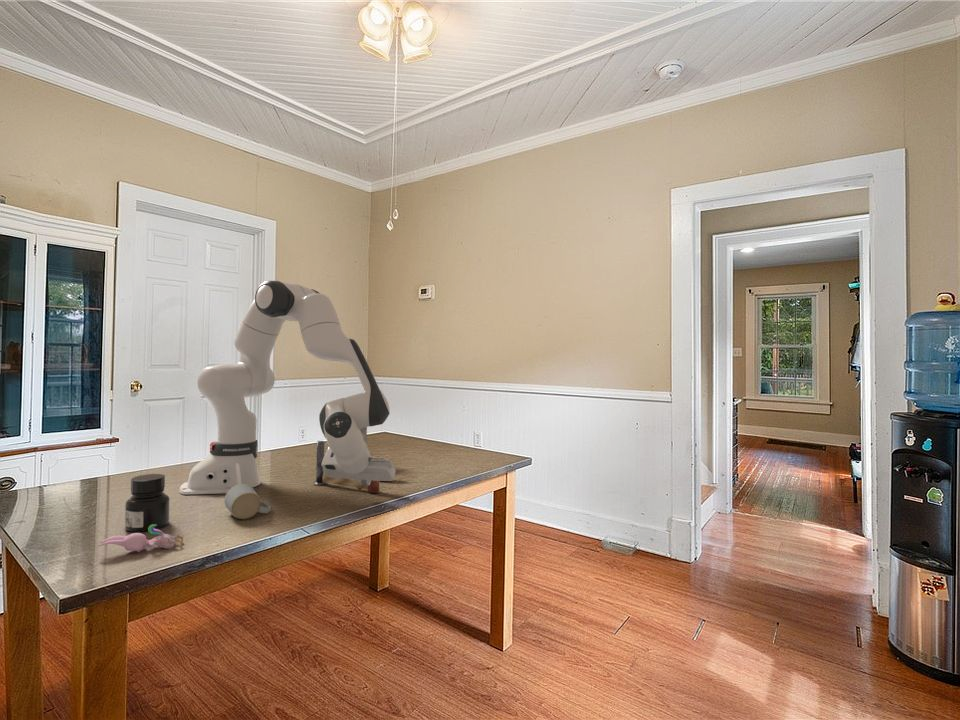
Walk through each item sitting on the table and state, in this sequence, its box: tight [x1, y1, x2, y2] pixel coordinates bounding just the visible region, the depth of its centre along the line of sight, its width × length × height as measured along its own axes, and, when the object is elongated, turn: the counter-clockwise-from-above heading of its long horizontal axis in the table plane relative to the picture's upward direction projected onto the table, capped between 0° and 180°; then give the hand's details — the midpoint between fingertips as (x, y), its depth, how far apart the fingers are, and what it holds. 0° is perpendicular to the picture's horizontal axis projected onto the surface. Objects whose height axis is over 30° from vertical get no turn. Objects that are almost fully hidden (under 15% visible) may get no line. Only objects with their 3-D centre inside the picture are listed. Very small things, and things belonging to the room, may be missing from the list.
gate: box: [322, 456, 380, 494], centre depth 152 cm, size 21×4×11 cm, turn 68°
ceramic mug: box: [224, 484, 272, 520], centre depth 127 cm, size 11×8×8 cm
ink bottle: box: [124, 473, 170, 533], centre depth 117 cm, size 10×9×12 cm
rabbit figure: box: [98, 524, 184, 553], centre depth 103 cm, size 6×6×15 cm
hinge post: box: [312, 440, 327, 486], centre depth 157 cm, size 4×4×14 cm
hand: (365, 482), depth 142 cm, fingers closed
